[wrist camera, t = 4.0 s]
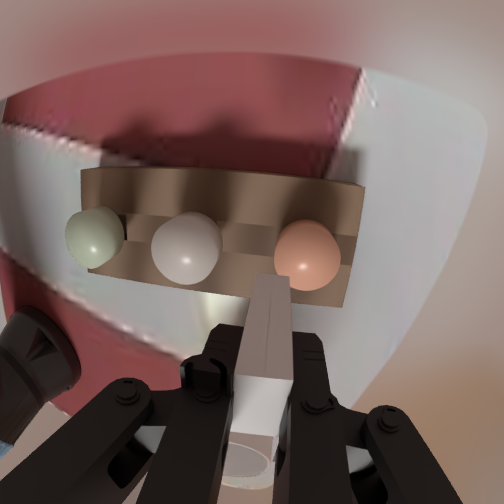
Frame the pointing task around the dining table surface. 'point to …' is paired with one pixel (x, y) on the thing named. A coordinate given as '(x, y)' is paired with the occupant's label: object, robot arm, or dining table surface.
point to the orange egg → (307, 255)
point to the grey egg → (187, 247)
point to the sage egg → (94, 236)
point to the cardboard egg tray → (224, 221)
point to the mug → (247, 454)
